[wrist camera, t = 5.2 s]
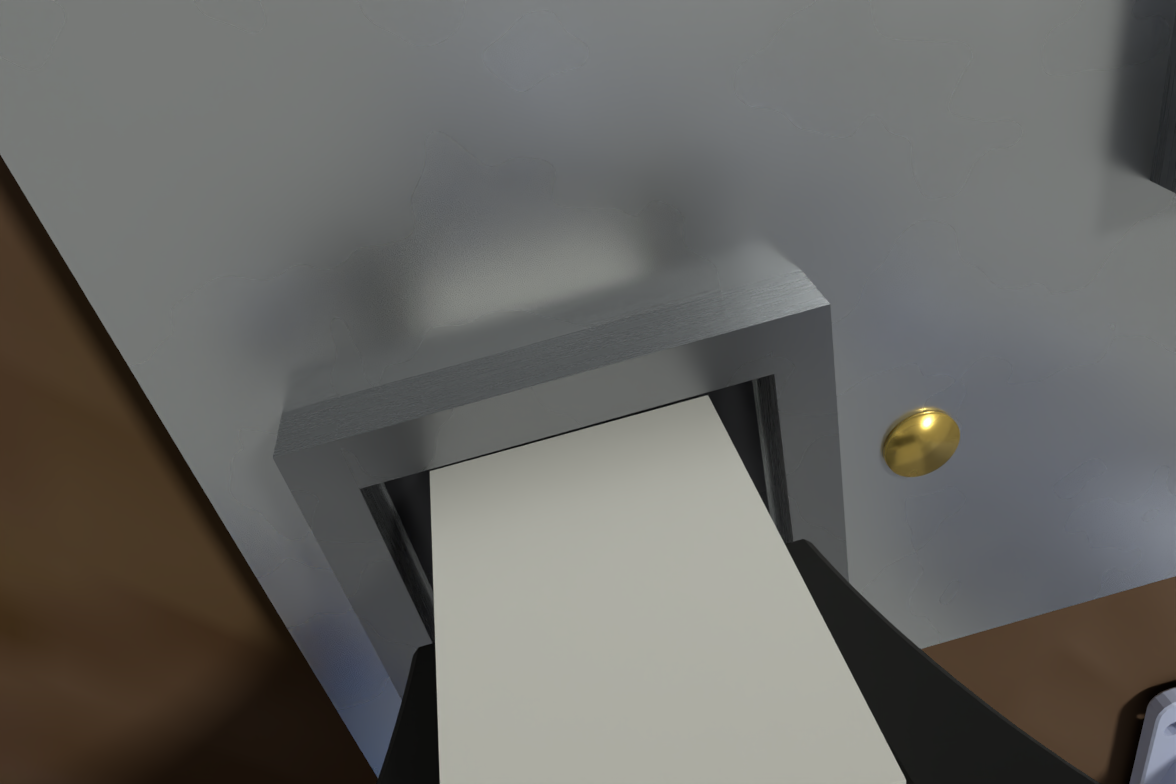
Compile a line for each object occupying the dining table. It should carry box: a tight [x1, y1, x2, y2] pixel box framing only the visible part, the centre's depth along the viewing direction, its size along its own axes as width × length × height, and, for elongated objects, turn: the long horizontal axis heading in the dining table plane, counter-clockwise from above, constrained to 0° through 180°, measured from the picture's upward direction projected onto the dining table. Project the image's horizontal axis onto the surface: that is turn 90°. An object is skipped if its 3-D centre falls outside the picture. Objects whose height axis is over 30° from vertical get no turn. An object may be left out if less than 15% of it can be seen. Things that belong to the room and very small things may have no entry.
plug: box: [430, 395, 906, 784], centre depth 11 cm, size 4×4×7 cm
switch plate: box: [0, 0, 1176, 778], centre depth 12 cm, size 16×22×2 cm
